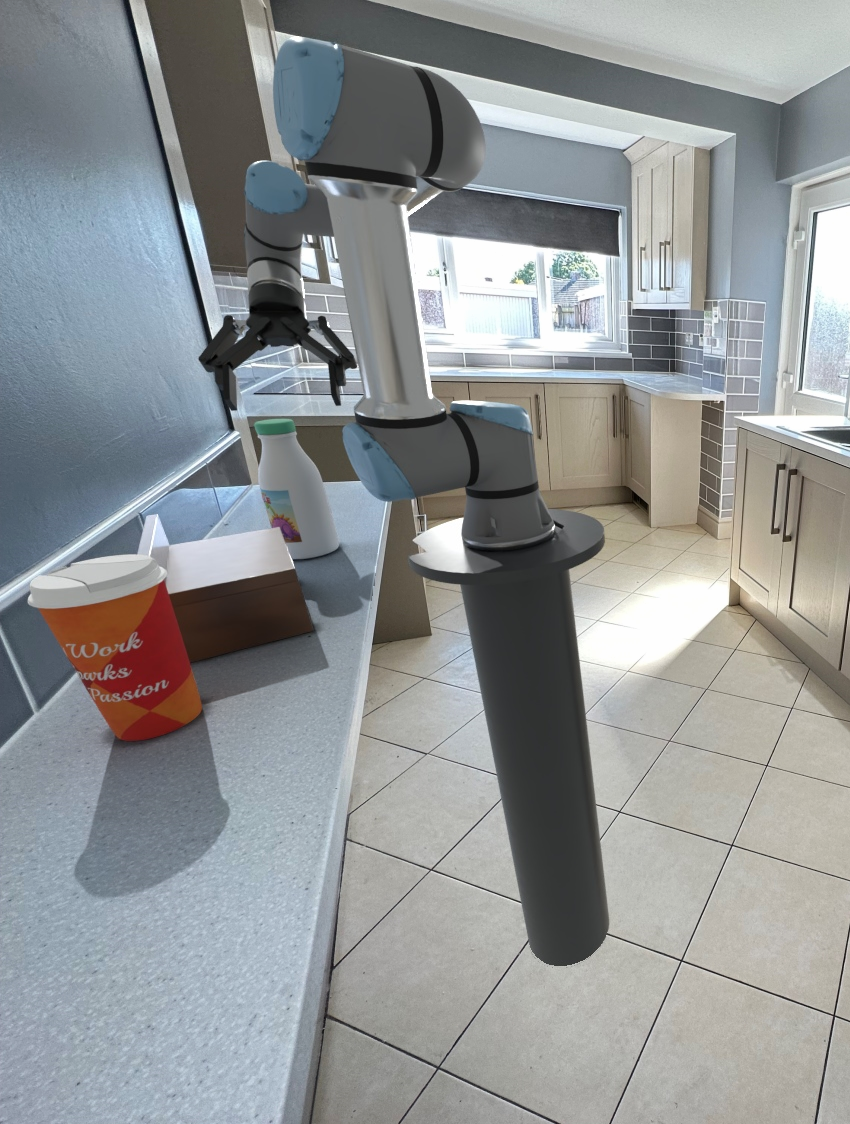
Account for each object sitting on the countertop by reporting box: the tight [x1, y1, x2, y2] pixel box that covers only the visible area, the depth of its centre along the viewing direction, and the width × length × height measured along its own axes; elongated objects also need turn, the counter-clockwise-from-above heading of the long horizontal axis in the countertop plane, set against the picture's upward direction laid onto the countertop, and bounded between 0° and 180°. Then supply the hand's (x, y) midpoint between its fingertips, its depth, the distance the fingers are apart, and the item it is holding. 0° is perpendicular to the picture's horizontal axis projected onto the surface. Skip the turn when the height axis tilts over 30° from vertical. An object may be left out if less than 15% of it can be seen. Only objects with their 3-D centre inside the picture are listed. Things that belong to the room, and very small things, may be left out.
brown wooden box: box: [137, 513, 315, 664], centre depth 72 cm, size 12×18×12 cm, turn 40°
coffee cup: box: [27, 554, 203, 742], centre depth 53 cm, size 8×8×15 cm
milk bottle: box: [253, 418, 340, 560], centre depth 90 cm, size 8×8×20 cm
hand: (285, 403), depth 95 cm, fingers open, 13 cm apart
